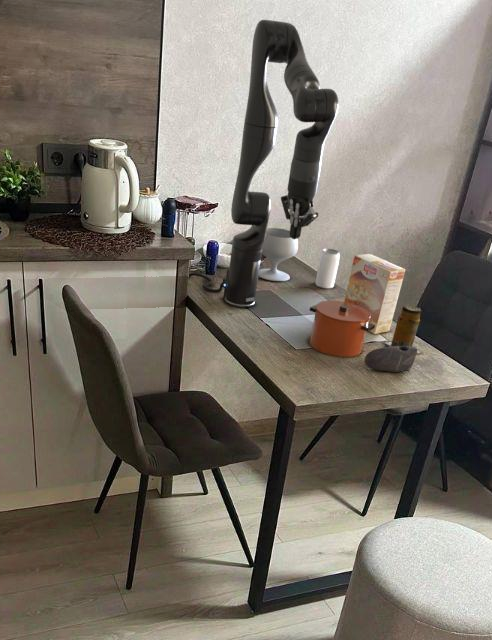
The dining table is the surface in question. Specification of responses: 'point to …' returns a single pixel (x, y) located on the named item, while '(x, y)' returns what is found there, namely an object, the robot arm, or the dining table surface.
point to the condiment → (406, 327)
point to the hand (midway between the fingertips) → (294, 237)
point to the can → (327, 268)
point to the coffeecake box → (375, 289)
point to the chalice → (277, 252)
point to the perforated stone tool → (391, 358)
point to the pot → (339, 328)
